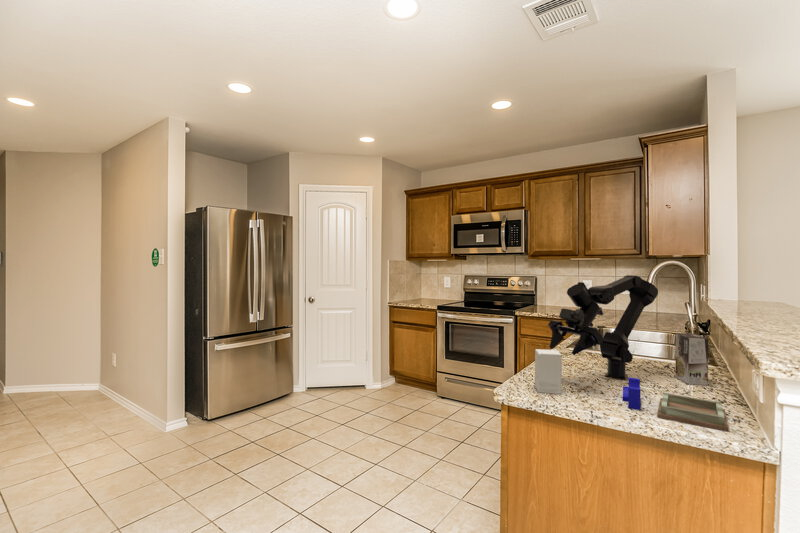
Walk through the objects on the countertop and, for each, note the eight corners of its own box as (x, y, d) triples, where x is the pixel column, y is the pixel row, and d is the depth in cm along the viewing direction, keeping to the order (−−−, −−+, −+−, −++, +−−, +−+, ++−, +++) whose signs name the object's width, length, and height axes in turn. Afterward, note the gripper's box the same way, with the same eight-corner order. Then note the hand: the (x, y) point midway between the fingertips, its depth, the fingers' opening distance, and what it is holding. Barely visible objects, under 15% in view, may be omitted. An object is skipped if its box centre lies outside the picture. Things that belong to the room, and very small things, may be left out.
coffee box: (708, 385, 136) (709, 338, 135) (687, 384, 137) (688, 337, 136) (694, 377, 145) (694, 333, 144) (674, 376, 146) (675, 332, 145)
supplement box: (561, 394, 126) (562, 354, 126) (537, 392, 128) (537, 353, 128) (557, 387, 134) (558, 349, 133) (534, 385, 135) (534, 348, 135)
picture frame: (660, 401, 120) (660, 391, 120) (724, 412, 112) (724, 402, 112) (657, 417, 108) (657, 406, 108) (728, 431, 100) (728, 419, 99)
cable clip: (622, 395, 126) (623, 376, 126) (639, 398, 124) (639, 378, 124) (622, 407, 116) (622, 387, 116) (640, 410, 114) (640, 389, 113)
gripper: (552, 297, 143) (528, 330, 139) (598, 303, 127) (572, 340, 122) (567, 318, 147) (544, 350, 142) (614, 326, 130) (590, 363, 126)
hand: (561, 350), depth 133 cm, fingers open, 9 cm apart
